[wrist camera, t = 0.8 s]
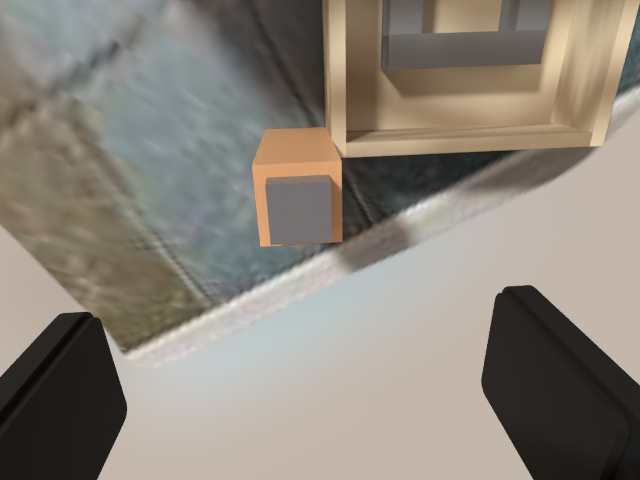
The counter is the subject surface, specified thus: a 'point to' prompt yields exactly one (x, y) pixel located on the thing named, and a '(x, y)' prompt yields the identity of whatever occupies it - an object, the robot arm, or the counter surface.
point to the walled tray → (471, 73)
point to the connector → (298, 187)
